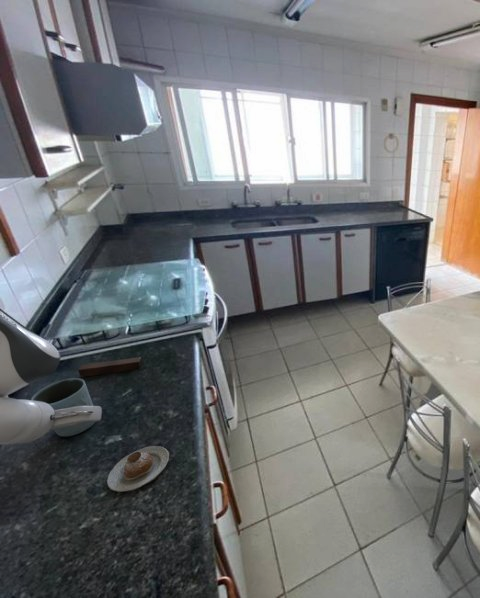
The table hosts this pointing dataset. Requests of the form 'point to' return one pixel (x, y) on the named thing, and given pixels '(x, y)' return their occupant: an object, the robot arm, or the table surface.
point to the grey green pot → (66, 400)
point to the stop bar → (110, 367)
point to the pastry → (138, 469)
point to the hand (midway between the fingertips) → (62, 423)
